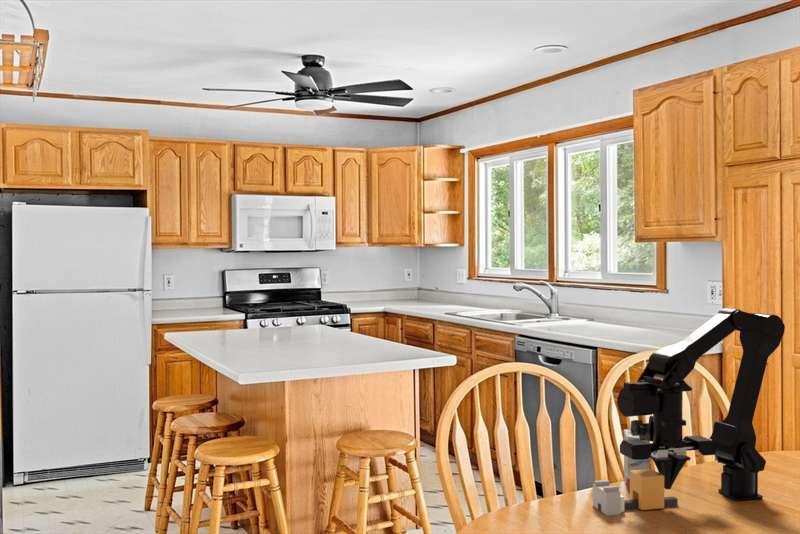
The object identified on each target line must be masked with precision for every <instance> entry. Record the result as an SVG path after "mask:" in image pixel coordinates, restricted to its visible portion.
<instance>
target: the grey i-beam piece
mask: <svg viewBox="0 0 800 534" xmlns="http://www.w3.org/2000/svg"><path fill="white" fill-rule="evenodd" d="M621 495H622V494H621V490H620V486H619V485H610V480H608V479H606V480H605V479H604V480H601V479H600V480H594V481H593V483H592V507H594V508H595V509H597V510H598V504H601V506H599V507H601V510H600V511H599V512H601V513H603V514H604V515H605V516H606V517H607V516H617V515H618V516H619V515H621V513H622V512H621Z"/></svg>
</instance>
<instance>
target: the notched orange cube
mask: <svg viewBox="0 0 800 534" xmlns="http://www.w3.org/2000/svg"><path fill="white" fill-rule="evenodd" d="M664 497H665V488H664V475H662V474H660V473H659V472H658V471H656V470H654V469H652V468H650V469H645V470H631V471H630V491H629V500H636V499H639V509H638V510H641V511H644V510H645V511H646V510H647V511H648V510H658V509H665V506H664Z"/></svg>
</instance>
